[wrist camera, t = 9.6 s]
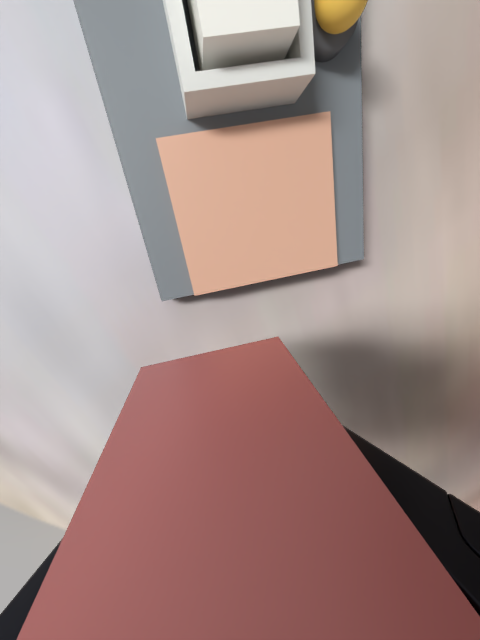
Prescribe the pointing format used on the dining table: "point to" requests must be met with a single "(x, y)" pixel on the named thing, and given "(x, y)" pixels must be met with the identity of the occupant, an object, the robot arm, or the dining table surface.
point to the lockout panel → (234, 144)
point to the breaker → (242, 31)
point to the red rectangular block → (241, 521)
